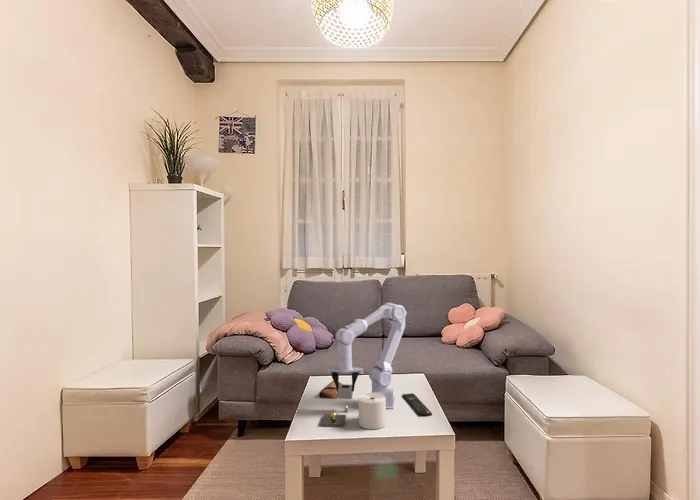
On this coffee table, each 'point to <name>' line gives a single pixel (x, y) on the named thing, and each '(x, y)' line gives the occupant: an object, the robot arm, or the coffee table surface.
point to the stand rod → (346, 408)
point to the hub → (333, 420)
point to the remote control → (417, 405)
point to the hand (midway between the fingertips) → (345, 390)
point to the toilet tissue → (372, 410)
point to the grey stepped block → (345, 391)
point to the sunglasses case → (329, 391)
